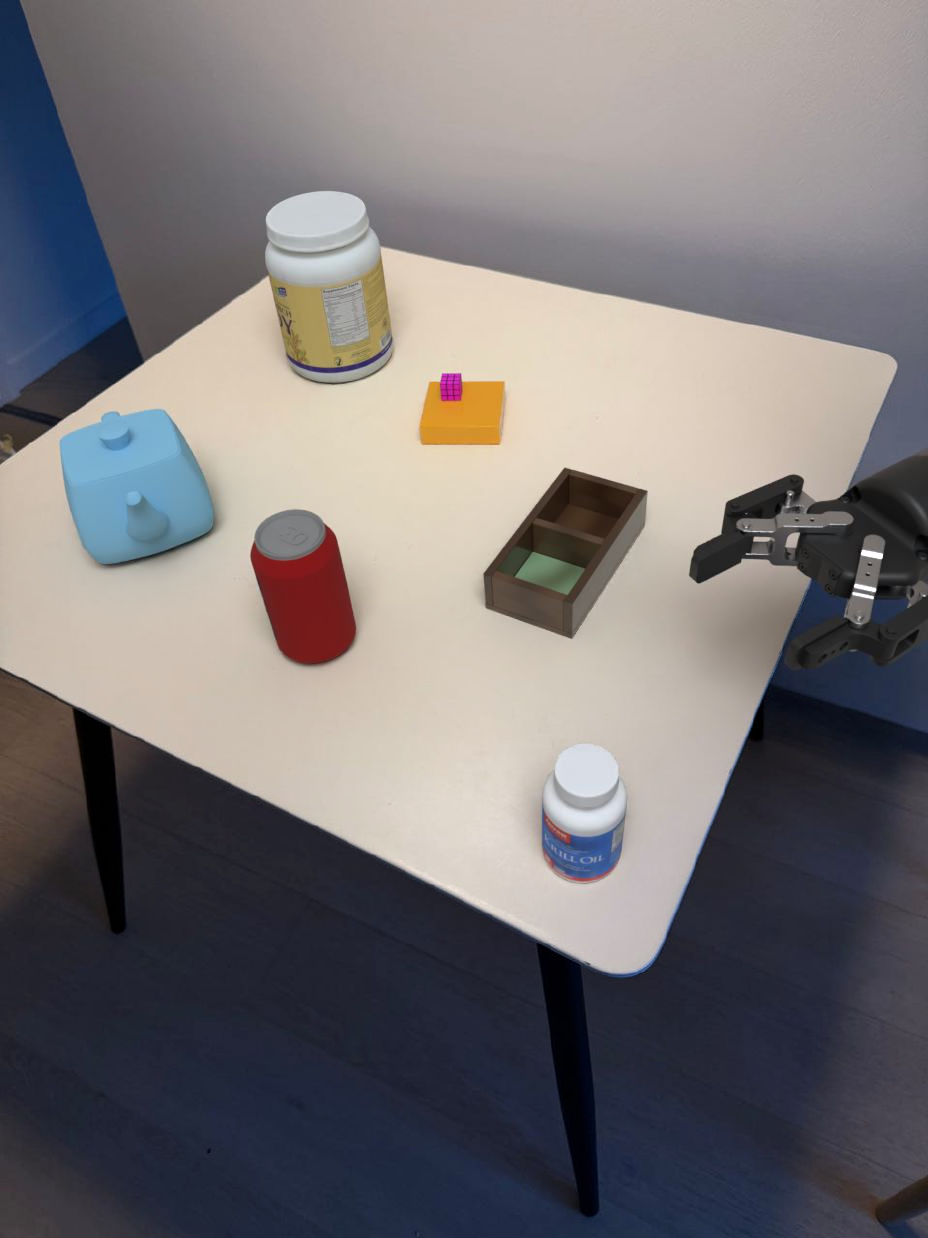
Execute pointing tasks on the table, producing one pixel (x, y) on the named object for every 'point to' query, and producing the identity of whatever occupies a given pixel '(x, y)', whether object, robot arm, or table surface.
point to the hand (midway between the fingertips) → (740, 612)
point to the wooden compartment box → (565, 551)
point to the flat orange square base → (463, 411)
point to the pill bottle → (583, 814)
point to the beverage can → (303, 586)
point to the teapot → (134, 486)
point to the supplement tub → (328, 286)
